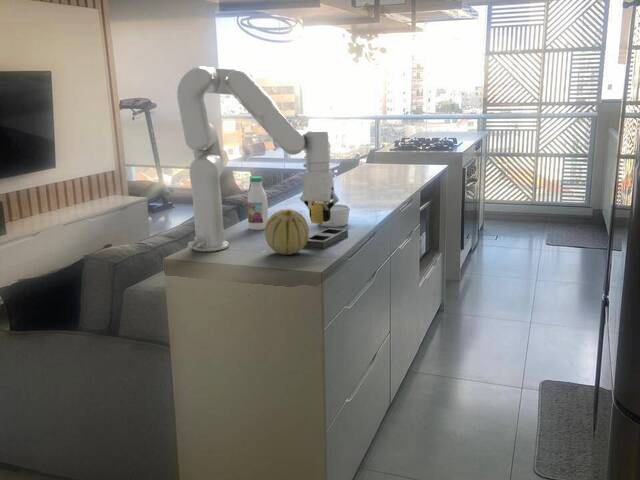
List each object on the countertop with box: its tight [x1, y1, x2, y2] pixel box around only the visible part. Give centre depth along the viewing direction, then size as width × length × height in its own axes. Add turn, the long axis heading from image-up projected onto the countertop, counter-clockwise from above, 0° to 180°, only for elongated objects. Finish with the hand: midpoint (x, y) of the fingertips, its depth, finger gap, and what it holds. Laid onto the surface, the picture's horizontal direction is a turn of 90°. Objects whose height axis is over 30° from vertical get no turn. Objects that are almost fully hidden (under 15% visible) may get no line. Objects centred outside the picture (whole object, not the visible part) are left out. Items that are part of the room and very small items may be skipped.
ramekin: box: [319, 203, 351, 228], centre depth 242 cm, size 13×13×7 cm
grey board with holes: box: [303, 227, 349, 250], centre depth 216 cm, size 20×8×2 cm, turn 153°
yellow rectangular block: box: [310, 202, 329, 225], centre depth 209 cm, size 4×4×7 cm
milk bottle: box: [246, 176, 269, 231], centre depth 237 cm, size 8×8×20 cm
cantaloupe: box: [264, 208, 310, 255], centre depth 201 cm, size 15×15×15 cm
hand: (320, 220), depth 210 cm, fingers closed on yellow rectangular block, 4 cm apart
